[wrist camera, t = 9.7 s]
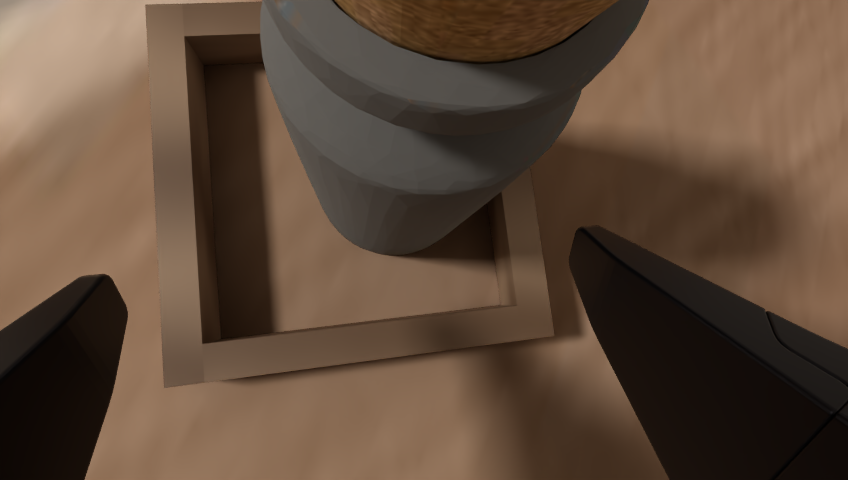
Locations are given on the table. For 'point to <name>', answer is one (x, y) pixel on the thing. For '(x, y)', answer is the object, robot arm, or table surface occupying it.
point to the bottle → (429, 100)
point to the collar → (195, 241)
